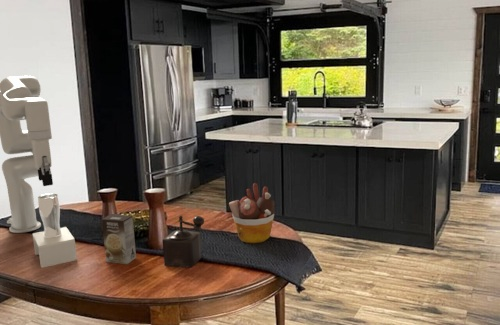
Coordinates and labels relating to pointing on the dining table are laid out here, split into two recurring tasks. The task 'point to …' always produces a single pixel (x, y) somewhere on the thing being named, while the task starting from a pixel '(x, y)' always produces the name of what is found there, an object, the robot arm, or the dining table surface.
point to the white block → (55, 248)
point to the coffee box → (119, 238)
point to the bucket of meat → (253, 216)
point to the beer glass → (50, 215)
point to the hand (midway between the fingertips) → (45, 182)
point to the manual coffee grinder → (183, 245)
